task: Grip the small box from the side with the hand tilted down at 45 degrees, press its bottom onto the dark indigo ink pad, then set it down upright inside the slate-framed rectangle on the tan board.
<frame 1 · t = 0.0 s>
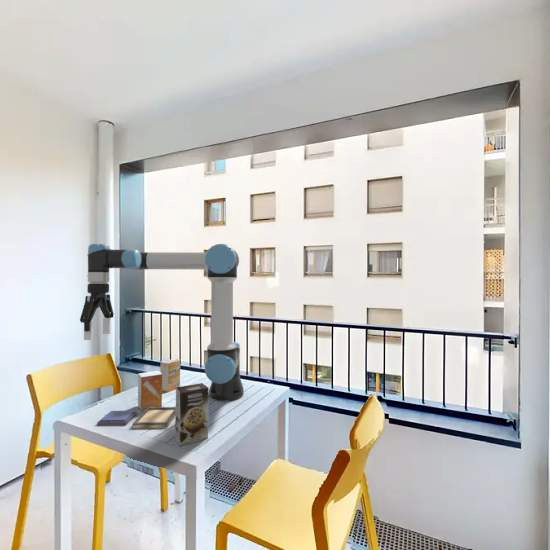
hand: (97, 336, 125), 28 cm above the table, tool pointing down, fingers open, 13 cm apart
supplement box: (170, 389, 146), on the table
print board: (156, 419, 114), on the table
ink pad: (117, 419, 114), on the table
coffee box: (191, 438, 101), on the table
small box: (149, 406, 126), on the table
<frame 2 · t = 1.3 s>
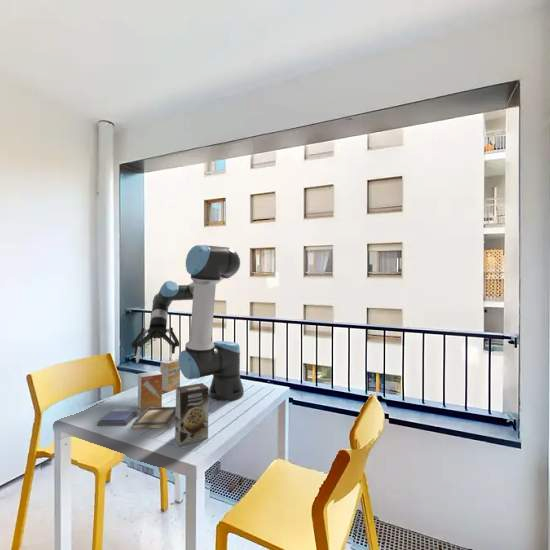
hand: (153, 360, 136), 16 cm above the table, tool tilted 45°, fingers open, 13 cm apart
nothing on the table moved.
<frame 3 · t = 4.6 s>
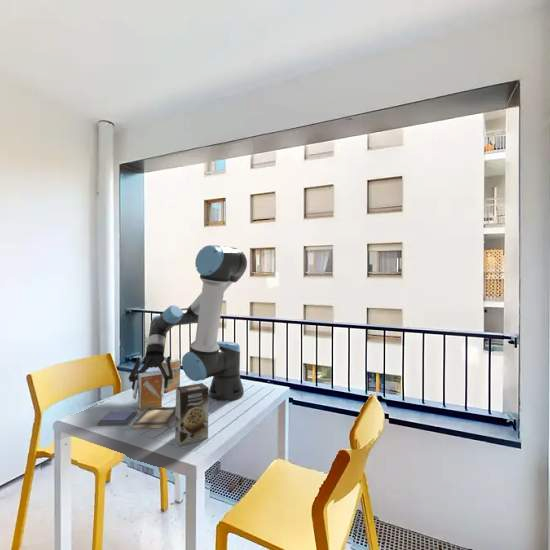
hand: (148, 396, 123), 5 cm above the table, tool tilted 45°, fingers closed on small box, 10 cm apart
small box: (149, 406, 126), on the table, touching gripper
everything else where it was.
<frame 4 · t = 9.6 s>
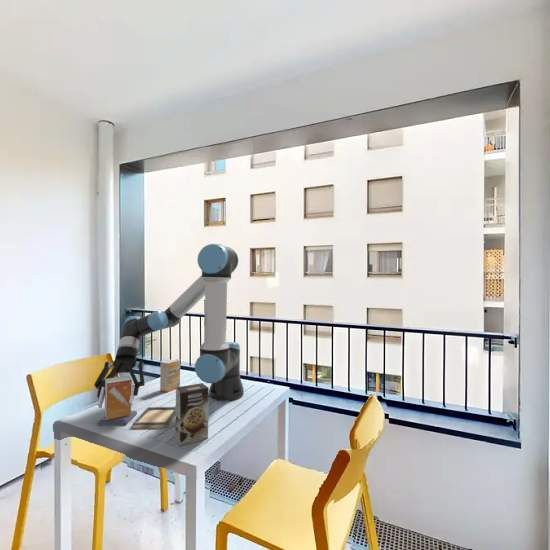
hand: (115, 405, 111), 6 cm above the table, tool tilted 45°, fingers closed on small box, 10 cm apart
small box: (117, 415, 114), point 1 cm above the table, touching gripper, ink pad
everything else where it was.
when the fingers open (7 cm above the table, at t = 14.6 s): small box moves 1 cm, resting on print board.
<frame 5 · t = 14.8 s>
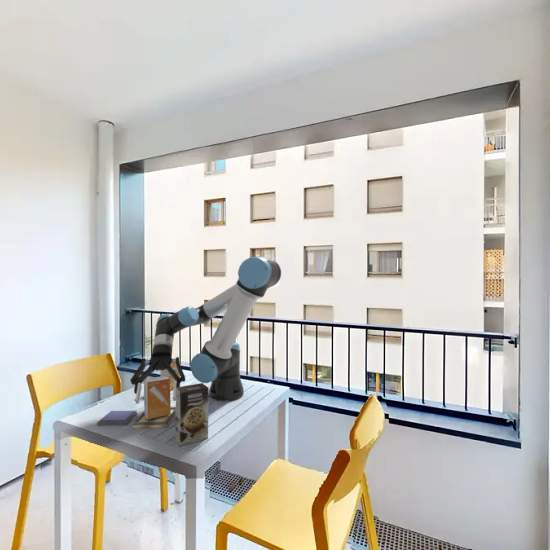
hand: (155, 400, 112), 8 cm above the table, tool tilted 45°, fingers open, 12 cm apart
small box: (157, 415, 115), point 1 cm above the table, touching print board
everything else where it was.
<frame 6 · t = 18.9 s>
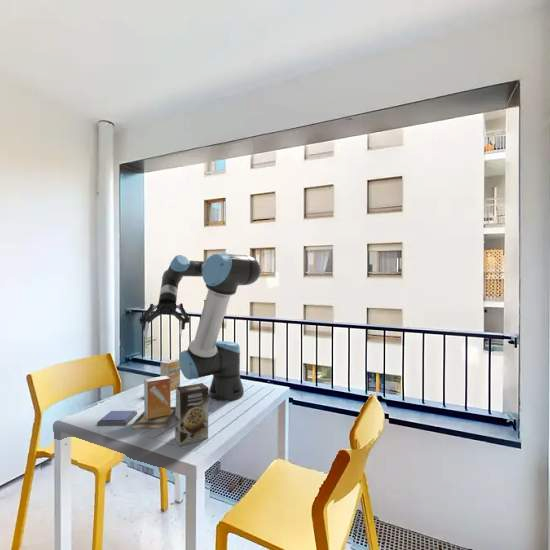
hand: (162, 336, 129), 28 cm above the table, tool tilted 45°, fingers open, 13 cm apart
nothing on the table moved.
at the end: small box inside the target area on the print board (0.4 cm from its centre), point 1.1 cm above the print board's base; small box tilted 6°; the gripper is holding nothing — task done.
